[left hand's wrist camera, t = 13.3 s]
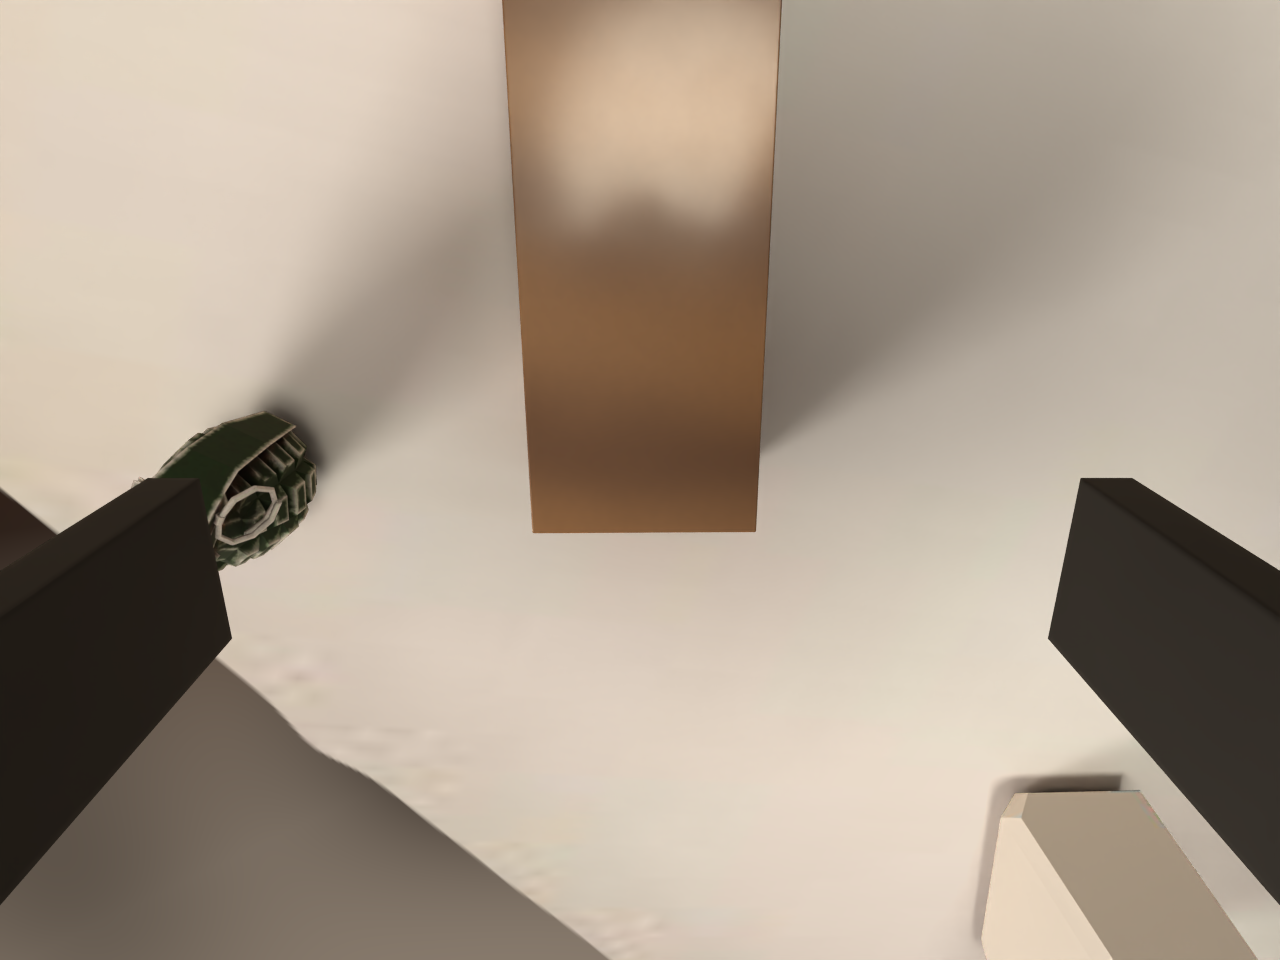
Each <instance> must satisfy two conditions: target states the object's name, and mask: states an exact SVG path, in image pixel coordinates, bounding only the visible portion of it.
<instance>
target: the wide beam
mask: <svg viewBox="0 0 1280 960" xmlns="http://www.w3.org/2000/svg"><path fill="white" fill-rule="evenodd" d="M502 5H503V23H504V40H505V58H506V75H507V93H508V110H509V128H510V146H511V163H512V181H513V198H514V216H515V233H516V251H517V269H518V286H519V304H520V321H521V339H522V356H523V374H524V392H525V409H526V427H527V444H528V462H529V479H530V497H531V515H532V532H533V533H644V532H756V519H757V499H758V478H759V458H760V437H761V417H762V396H763V376H764V355H765V335H766V315H767V294H768V274H769V253H770V233H771V212H772V192H773V171H774V151H775V130H776V110H777V89H778V69H779V49H780V28H781V8H782V0H502Z"/></svg>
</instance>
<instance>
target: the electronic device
mask: <svg viewBox="0 0 1280 960" xmlns="http://www.w3.org/2000/svg"><path fill="white" fill-rule="evenodd" d="M981 940H982V945H983V949H984V953H985V957H986V960H1258V959H1257V958H1256V956H1255V955H1254V953H1253V952H1252V950H1251V949H1250V947H1249V946H1248V945H1247V943H1246V942H1245V940H1244V939H1243V937H1242V936H1241V935H1240V933H1239V932H1238V930H1237V929H1236V927H1235V926H1234V925H1233V923H1232V922H1231V920H1230V919H1229V917H1228V916H1227V915H1226V913H1225V912H1224V910H1223V909H1222V907H1221V906H1220V905H1219V903H1218V902H1217V900H1216V899H1215V897H1214V896H1213V895H1212V893H1211V892H1210V890H1209V889H1208V887H1207V886H1206V885H1205V883H1204V882H1203V880H1202V879H1201V877H1200V876H1199V874H1198V873H1197V872H1196V870H1195V869H1194V867H1193V866H1192V864H1191V863H1190V862H1189V860H1188V859H1187V857H1186V856H1185V854H1184V853H1183V852H1182V850H1181V849H1180V847H1179V846H1178V844H1177V843H1176V842H1175V840H1174V839H1173V837H1172V836H1171V834H1170V833H1169V832H1168V830H1167V829H1166V827H1165V826H1164V824H1163V823H1162V822H1161V820H1160V819H1159V817H1158V816H1157V814H1156V813H1155V811H1154V810H1153V809H1152V807H1151V806H1150V804H1149V803H1148V801H1147V800H1146V799H1145V797H1144V796H1143V794H1142V793H1141V791H1140V790H1138V791H1093V792H1049V793H1015V794H1014V796H1013V797H1012V799H1011V801H1010V802H1009V804H1008V806H1007V808H1006V809H1005V811H1004V813H1003V814H1002V816H1001V819H1000V825H999V831H998V838H997V844H996V850H995V856H994V862H993V869H992V875H991V881H990V887H989V893H988V900H987V906H986V912H985V918H984V924H983V931H982V937H981Z"/></svg>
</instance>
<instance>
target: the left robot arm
mask: <svg viewBox="0 0 1280 960" xmlns="http://www.w3.org/2000/svg"><path fill="white" fill-rule="evenodd" d="M231 639H232V636H231V631H230V626H229V622H228V617H227V612H226V607H225V602H224V597H223V592H222V587H221V582H220V577H219V572H218V567H217V563H216V558H215V553H214V548H213V543H212V538H211V533H210V528H209V523H208V518H207V513H206V509H205V504H204V499H203V494H202V489H201V484H200V479H199V478H147V479H146V480H144V481H142V482H141V483H139V484H138V485H136V486H134V487H133V488H131V489H130V490H128V491H127V492H125V493H123V494H122V495H120V496H119V497H117V498H115V499H114V500H112V501H111V502H109V503H107V504H106V505H104V506H103V507H101V508H99V509H98V510H96V511H95V512H93V513H91V514H90V515H88V516H87V517H85V518H83V519H82V520H80V521H79V522H77V523H75V524H74V525H72V526H71V527H69V528H68V529H66V530H64V531H63V532H61V533H60V534H58V535H56V536H55V537H53V538H52V539H50V540H48V541H47V542H45V543H44V544H42V545H40V546H39V547H37V548H36V549H34V550H32V551H31V552H29V553H28V554H26V555H25V556H23V557H21V558H20V559H18V560H17V561H15V562H13V563H12V564H10V565H9V566H7V567H5V568H4V569H2V570H1V571H0V905H1V903H2V902H3V901H4V900H5V899H6V898H7V897H8V895H9V894H10V893H11V892H12V891H13V890H14V889H15V887H16V886H17V885H18V884H19V883H20V882H21V880H22V879H23V878H24V877H25V876H26V875H27V874H28V872H29V871H30V870H31V869H32V868H33V867H34V866H35V864H36V863H37V862H38V861H39V860H40V859H41V857H42V856H43V855H44V854H45V853H46V852H47V851H48V849H49V848H50V847H51V846H52V845H53V844H54V843H55V841H56V840H57V839H58V838H59V837H60V836H61V835H62V833H63V832H64V831H65V830H66V829H67V828H68V826H69V825H70V824H71V823H72V822H73V821H74V820H75V818H76V817H77V816H78V815H79V814H80V813H81V812H82V810H83V809H84V808H85V807H86V806H87V805H88V803H89V802H90V801H91V800H92V799H93V798H94V797H95V795H96V794H97V793H98V792H99V791H100V790H101V789H102V787H103V786H104V785H105V784H106V783H107V782H108V780H109V779H110V778H111V777H112V776H113V775H114V774H115V772H116V771H117V770H118V769H119V768H120V767H121V766H122V764H123V763H124V762H125V761H126V760H127V759H128V757H129V756H130V755H131V754H132V753H133V752H134V751H135V749H136V748H137V747H138V746H139V745H140V744H141V743H142V741H143V740H144V739H145V738H146V737H147V736H148V734H149V733H150V732H151V731H152V730H153V729H154V728H155V726H156V725H157V724H158V723H159V722H160V721H161V720H162V718H163V717H164V716H165V715H166V714H167V713H168V712H169V710H170V709H171V708H172V707H173V706H174V705H175V703H176V702H177V701H178V700H179V699H180V698H181V697H182V695H183V694H184V693H185V692H186V691H187V690H188V688H189V687H190V686H191V685H192V684H193V683H194V682H195V680H196V679H197V678H198V677H199V676H200V675H201V674H202V672H203V671H204V670H205V669H206V668H207V667H208V666H209V664H210V663H211V662H212V661H213V660H214V659H215V657H216V656H217V655H218V654H219V653H220V652H221V651H222V649H223V648H224V647H225V646H226V645H227V644H228V643H229V641H230V640H231ZM1048 639H1049V640H1050V641H1051V643H1052V644H1053V645H1054V646H1055V647H1056V648H1057V649H1058V651H1059V652H1060V653H1061V654H1062V655H1063V656H1064V657H1065V659H1066V660H1067V661H1068V662H1069V663H1070V664H1071V666H1072V667H1073V668H1074V669H1075V670H1076V671H1077V672H1078V674H1079V675H1080V676H1081V677H1082V678H1083V679H1084V680H1085V682H1086V683H1087V684H1088V685H1089V686H1090V687H1091V689H1092V690H1093V691H1094V692H1095V693H1096V694H1097V695H1098V697H1099V698H1100V699H1101V700H1102V701H1103V702H1104V703H1105V705H1106V706H1107V707H1108V708H1109V709H1110V710H1111V712H1112V713H1113V714H1114V715H1115V716H1116V717H1117V718H1118V720H1119V721H1120V722H1121V723H1122V724H1123V725H1124V726H1125V728H1126V729H1127V730H1128V731H1129V732H1130V733H1131V735H1132V736H1133V737H1134V738H1135V739H1136V740H1137V741H1138V743H1139V744H1140V745H1141V746H1142V747H1143V748H1144V749H1145V751H1146V752H1147V753H1148V754H1149V755H1150V756H1151V758H1152V759H1153V760H1154V761H1155V762H1156V763H1157V764H1158V766H1159V767H1160V768H1161V769H1162V770H1163V771H1164V772H1165V774H1166V775H1167V776H1168V777H1169V778H1170V779H1171V781H1172V782H1173V783H1174V784H1175V785H1176V786H1177V787H1178V789H1179V790H1180V791H1181V792H1182V793H1183V794H1184V795H1185V797H1186V798H1187V799H1188V800H1189V801H1190V802H1191V803H1192V805H1193V806H1194V807H1195V808H1196V809H1197V810H1198V812H1199V813H1200V814H1201V815H1202V816H1203V817H1204V818H1205V820H1206V821H1207V822H1208V823H1209V824H1210V825H1211V826H1212V828H1213V829H1214V830H1215V831H1216V832H1217V833H1218V835H1219V836H1220V837H1221V838H1222V839H1223V840H1224V841H1225V843H1226V844H1227V845H1228V846H1229V847H1230V848H1231V849H1232V851H1233V852H1234V853H1235V854H1236V855H1237V856H1238V858H1239V859H1240V860H1241V861H1242V862H1243V863H1244V864H1245V866H1246V867H1247V868H1248V869H1249V870H1250V871H1251V872H1252V874H1253V875H1254V876H1255V877H1256V878H1257V879H1258V881H1259V882H1260V883H1261V884H1262V885H1263V886H1264V887H1265V889H1266V890H1267V891H1268V892H1269V893H1270V894H1271V895H1272V897H1273V898H1274V899H1275V900H1276V901H1277V902H1278V904H1279V905H1280V571H1279V570H1278V569H1276V568H1275V567H1273V566H1271V565H1270V564H1268V563H1267V562H1265V561H1263V560H1262V559H1260V558H1259V557H1257V556H1256V555H1254V554H1252V553H1251V552H1249V551H1248V550H1246V549H1244V548H1243V547H1241V546H1240V545H1238V544H1236V543H1235V542H1233V541H1232V540H1230V539H1228V538H1227V537H1225V536H1224V535H1222V534H1220V533H1219V532H1217V531H1216V530H1214V529H1212V528H1211V527H1209V526H1208V525H1206V524H1205V523H1203V522H1201V521H1200V520H1198V519H1197V518H1195V517H1193V516H1192V515H1190V514H1189V513H1187V512H1185V511H1184V510H1182V509H1181V508H1179V507H1177V506H1176V505H1174V504H1173V503H1171V502H1169V501H1168V500H1166V499H1165V498H1163V497H1161V496H1160V495H1158V494H1157V493H1155V492H1153V491H1152V490H1150V489H1149V488H1147V487H1146V486H1144V485H1142V484H1141V483H1139V482H1138V481H1136V480H1134V479H1133V478H1081V479H1080V484H1079V489H1078V494H1077V499H1076V504H1075V509H1074V513H1073V518H1072V523H1071V528H1070V533H1069V538H1068V543H1067V548H1066V553H1065V558H1064V563H1063V567H1062V572H1061V577H1060V582H1059V587H1058V592H1057V597H1056V602H1055V607H1054V612H1053V617H1052V622H1051V626H1050V631H1049V636H1048Z"/></svg>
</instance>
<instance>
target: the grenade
mask: <svg viewBox="0 0 1280 960" xmlns="http://www.w3.org/2000/svg"><path fill="white" fill-rule="evenodd" d="M295 427H296V426H295V425H293V424H291V423H289V422H287V421H285V420H283V419H280V418H278V417H276V416H274V415H272V414H270V413H267V412H265V411H263V412H259V413H256V414H252V415H249V416H245V417H242V418H238V419H235V420H231V421H228V422H224V423H222V424H220V425H219V426H217V427H212V428H208V429H206V430H205V431H204V432H203V433H197V434H196V435H195V436H193V437H192V438H191V439H189V440H188V441H187V442H186V443H185V444H184V445H183V446H182V447H181V448H180V449H179V450H178V451H177V452H176V453H175V454H173V455H172V456H171V457H170V459H169V460H168V461H167V462H165V463H164V464H163V466H162V467H161V469H160V470H159V471H158V473H157V474H156V475H155V476H154V477H153V478H199V479H200V484H201V489H202V494H203V499H204V504H205V509H206V513H207V518H208V523H209V528H210V533H211V538H212V543H213V548H214V553H215V558H216V563H217V567H218V571H220V570H223V569H224V568H225V566H226V565H231V566H232V565H233V566H238V565H241V564H243V563H245V562H247V561H248V560H249V559H250V558H252V559H255V558H258V557H260V556H262V555H264V554H265V553H266V552H267V551H269V550H270V549H271V550H272V549H273V548H274V547H276V546H277V545H278V544H279V543H280V542H282V541H283V540H284V539H285V538H286V537H287V536H288V535H290V534H291V533H292V532H293V531H294V530H295V529H296V528H298V527H299V523H301V522H302V521H303V520H304V519H305V517H306V514H307V512H308V506H307V503H309V502H310V501H312V499H313V497H314V495H315V493H316V485H317V478H316V464H314V463H312V462H311V461H309V460H307V459H306V458H304V454H305V451H306V448H307V446H306V445H305V444H304V443H303V442H302V441H301V440H300V439H299V438H298V437H297V436H296V435H295V434H294V433H293V432H292V431H291V430H292V429H294V428H295ZM142 481H144V479H143V478H141V477H139V479H138V481H136V480H133V483H132V487H131V488H133V487H134V486H136V485H138V484H139V483H141V482H142Z"/></svg>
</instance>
